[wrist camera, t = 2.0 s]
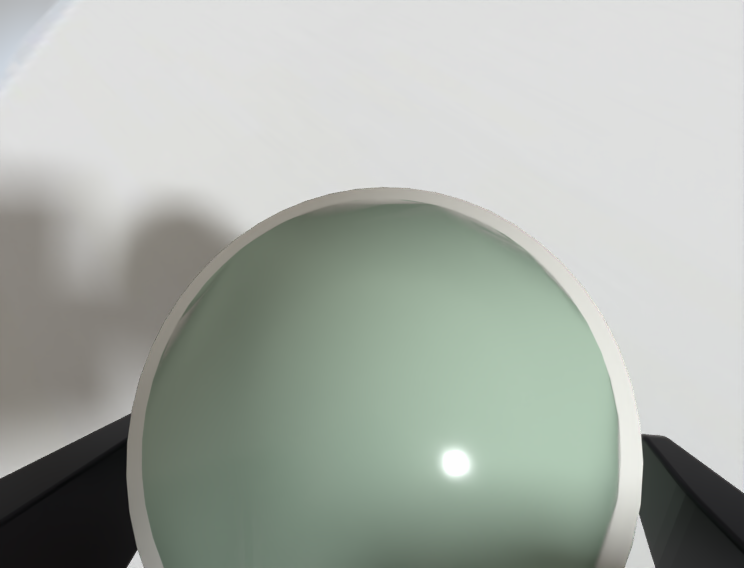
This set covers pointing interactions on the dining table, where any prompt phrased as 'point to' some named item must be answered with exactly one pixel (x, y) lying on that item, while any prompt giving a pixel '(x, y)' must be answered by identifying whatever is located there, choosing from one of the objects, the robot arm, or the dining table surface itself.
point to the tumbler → (384, 400)
